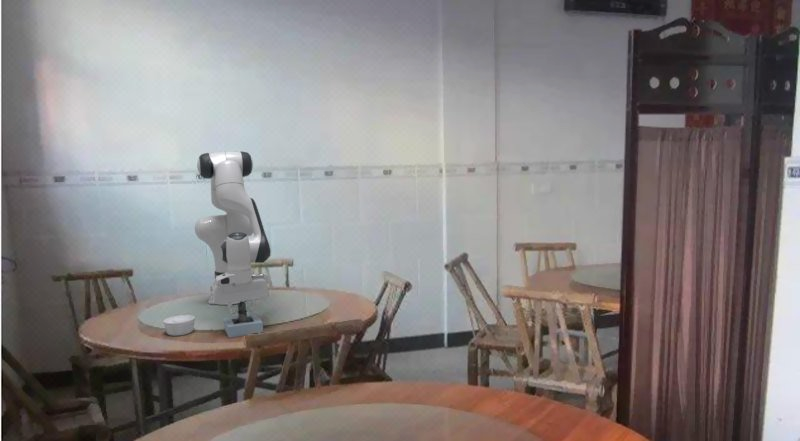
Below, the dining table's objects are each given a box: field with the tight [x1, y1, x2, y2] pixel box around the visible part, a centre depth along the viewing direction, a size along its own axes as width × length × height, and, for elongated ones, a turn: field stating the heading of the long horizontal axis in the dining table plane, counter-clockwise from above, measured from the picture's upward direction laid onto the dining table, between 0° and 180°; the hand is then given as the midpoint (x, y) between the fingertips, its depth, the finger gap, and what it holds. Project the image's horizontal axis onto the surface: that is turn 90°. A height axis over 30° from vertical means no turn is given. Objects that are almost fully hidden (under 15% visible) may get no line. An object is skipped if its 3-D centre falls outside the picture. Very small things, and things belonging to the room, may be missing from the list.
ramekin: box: [162, 314, 196, 337], centre depth 236 cm, size 11×11×5 cm
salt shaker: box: [235, 301, 251, 324], centre depth 234 cm, size 6×6×12 cm
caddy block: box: [223, 313, 264, 339], centre depth 235 cm, size 12×12×4 cm
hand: (242, 312), depth 234 cm, fingers open, 5 cm apart
